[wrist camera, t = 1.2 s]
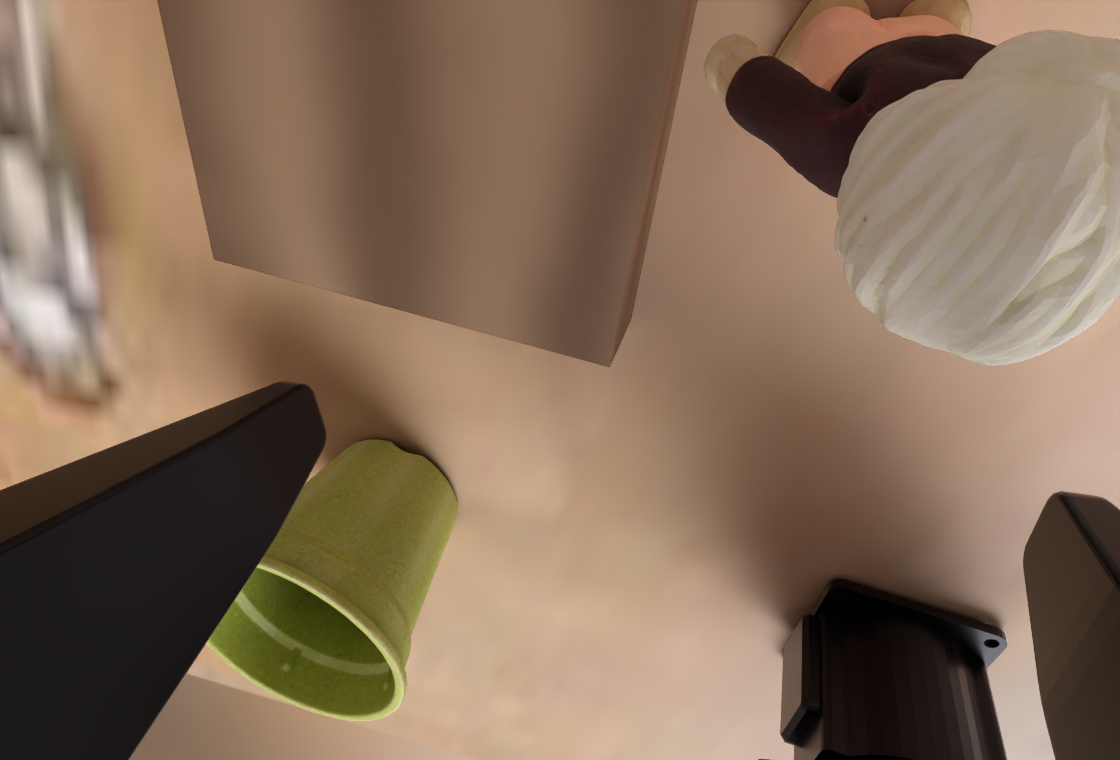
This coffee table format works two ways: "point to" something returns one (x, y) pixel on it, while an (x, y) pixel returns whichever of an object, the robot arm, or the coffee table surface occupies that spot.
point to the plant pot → (343, 585)
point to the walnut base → (437, 151)
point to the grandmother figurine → (949, 167)
